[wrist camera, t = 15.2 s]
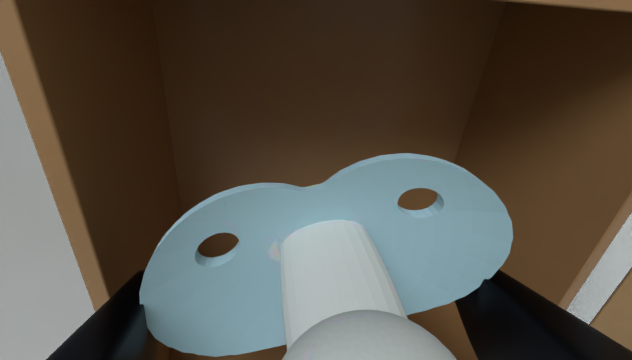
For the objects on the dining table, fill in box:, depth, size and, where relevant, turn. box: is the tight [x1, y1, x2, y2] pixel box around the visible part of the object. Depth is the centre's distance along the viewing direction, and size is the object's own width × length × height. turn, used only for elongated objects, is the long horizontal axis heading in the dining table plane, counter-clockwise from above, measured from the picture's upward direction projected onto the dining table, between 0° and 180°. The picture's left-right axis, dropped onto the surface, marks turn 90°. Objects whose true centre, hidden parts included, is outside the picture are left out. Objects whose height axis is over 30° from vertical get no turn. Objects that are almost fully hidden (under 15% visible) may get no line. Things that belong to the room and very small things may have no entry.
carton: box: [0, 0, 632, 360], centre depth 11 cm, size 13×13×7 cm
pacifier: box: [139, 153, 513, 360], centre depth 7 cm, size 7×6×6 cm
